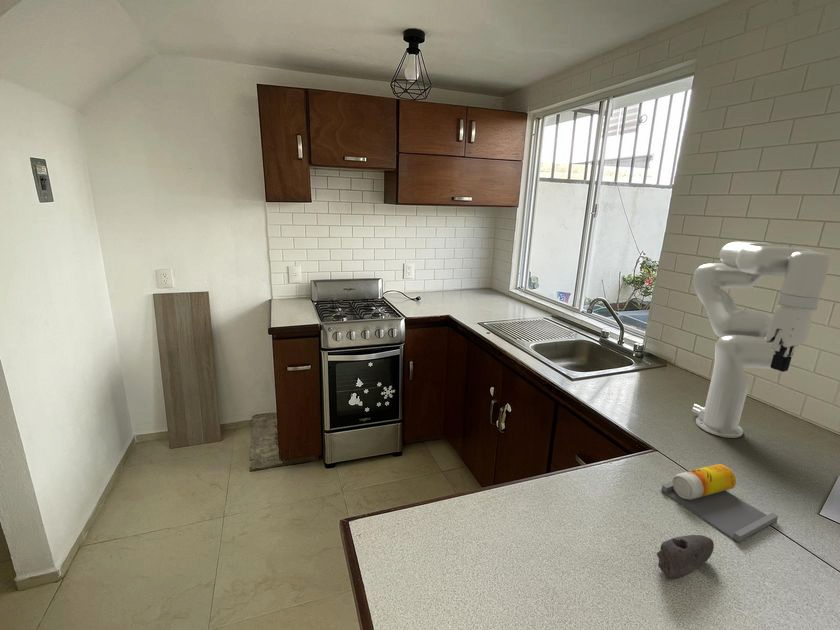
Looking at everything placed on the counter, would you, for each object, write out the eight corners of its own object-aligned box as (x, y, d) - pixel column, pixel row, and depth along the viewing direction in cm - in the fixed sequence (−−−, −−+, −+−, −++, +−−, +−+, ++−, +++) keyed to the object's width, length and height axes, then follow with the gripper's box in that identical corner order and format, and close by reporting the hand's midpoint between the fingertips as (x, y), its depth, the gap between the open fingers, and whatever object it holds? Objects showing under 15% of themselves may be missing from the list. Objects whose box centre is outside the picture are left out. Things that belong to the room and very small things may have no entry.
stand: (661, 491, 106) (662, 485, 105) (698, 475, 112) (699, 470, 112) (738, 543, 90) (740, 536, 90) (776, 522, 97) (778, 515, 96)
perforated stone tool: (697, 547, 89) (704, 520, 87) (722, 567, 84) (729, 539, 83) (645, 567, 84) (651, 539, 82) (668, 590, 79) (675, 560, 77)
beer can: (731, 462, 106) (686, 473, 101) (742, 488, 103) (697, 500, 99) (710, 464, 111) (667, 475, 106) (720, 489, 109) (677, 500, 104)
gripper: (795, 295, 111) (777, 360, 116) (763, 300, 104) (746, 368, 110) (832, 302, 104) (811, 370, 109) (800, 307, 98) (779, 379, 103)
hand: (778, 369), depth 109 cm, fingers closed
